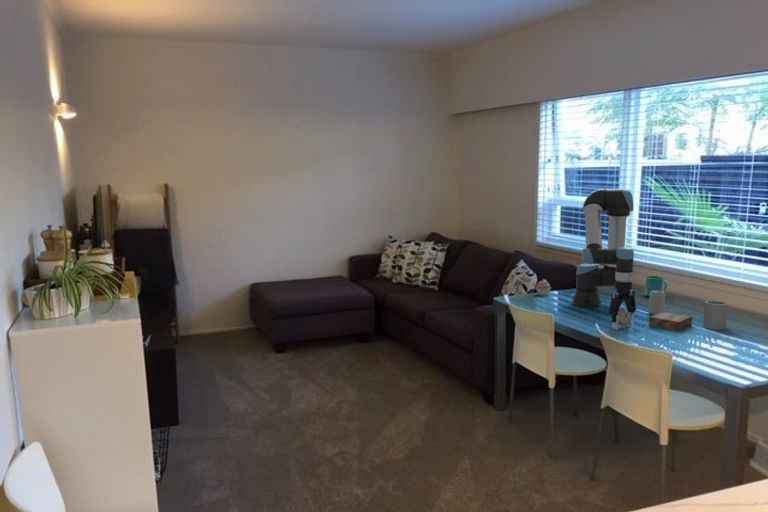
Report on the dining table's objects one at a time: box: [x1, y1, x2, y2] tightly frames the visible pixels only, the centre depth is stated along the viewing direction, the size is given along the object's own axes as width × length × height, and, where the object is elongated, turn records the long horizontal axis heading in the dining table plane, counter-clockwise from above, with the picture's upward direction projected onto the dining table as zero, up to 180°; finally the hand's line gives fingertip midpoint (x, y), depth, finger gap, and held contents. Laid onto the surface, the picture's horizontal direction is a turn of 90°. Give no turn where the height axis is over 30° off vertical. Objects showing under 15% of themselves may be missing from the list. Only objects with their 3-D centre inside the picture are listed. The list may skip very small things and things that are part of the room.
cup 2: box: [703, 300, 728, 331], centre depth 279 cm, size 9×9×12 cm
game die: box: [617, 307, 633, 329], centre depth 281 cm, size 9×8×10 cm
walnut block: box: [648, 311, 693, 332], centre depth 284 cm, size 14×14×5 cm
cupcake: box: [535, 278, 552, 297], centre depth 355 cm, size 9×9×10 cm
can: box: [648, 290, 666, 315], centre depth 306 cm, size 8×8×12 cm
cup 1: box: [644, 275, 668, 297], centre depth 347 cm, size 9×12×11 cm
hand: (621, 327), depth 282 cm, fingers open, 9 cm apart
